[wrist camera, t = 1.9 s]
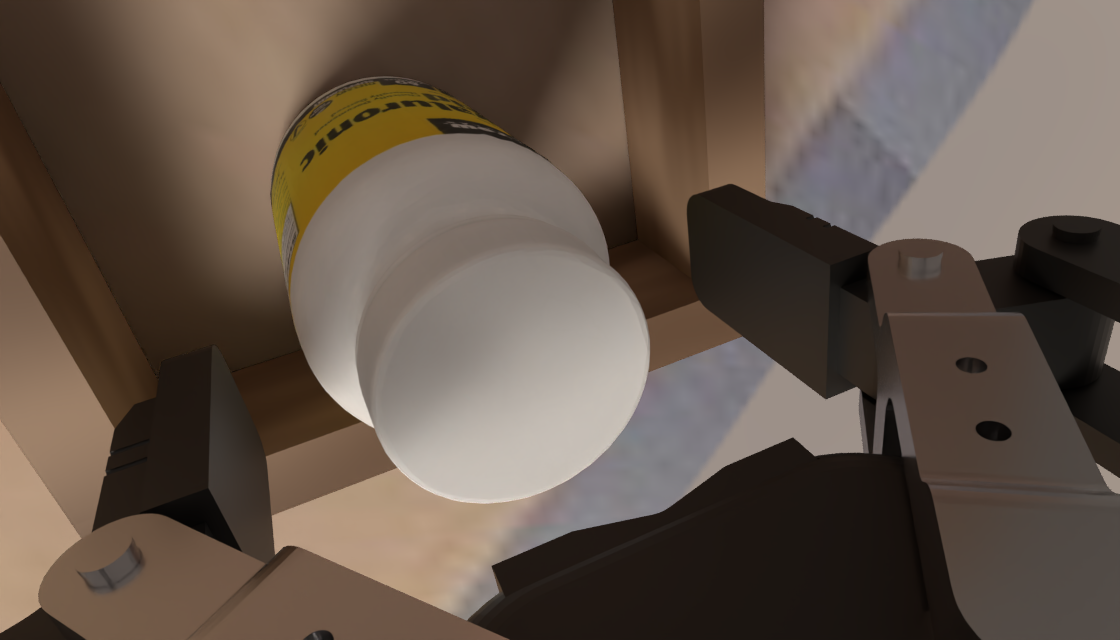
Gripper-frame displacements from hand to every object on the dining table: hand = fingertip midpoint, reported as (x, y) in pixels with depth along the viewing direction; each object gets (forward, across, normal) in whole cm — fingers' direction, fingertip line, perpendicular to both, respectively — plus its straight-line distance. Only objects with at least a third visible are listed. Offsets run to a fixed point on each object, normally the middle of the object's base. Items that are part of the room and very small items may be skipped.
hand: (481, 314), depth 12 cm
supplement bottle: (+7, 0, 0) cm, 7 cm away
